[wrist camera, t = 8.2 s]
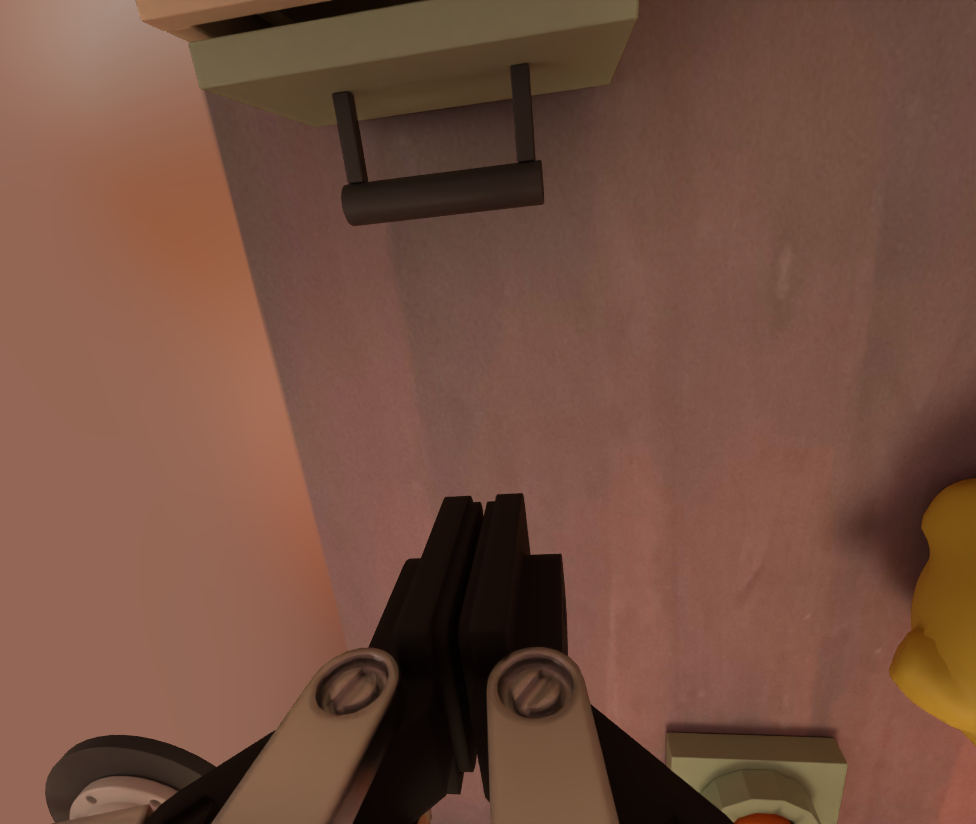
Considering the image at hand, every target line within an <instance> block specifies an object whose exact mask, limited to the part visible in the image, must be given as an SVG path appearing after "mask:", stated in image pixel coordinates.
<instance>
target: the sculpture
mask: <svg viewBox="0 0 976 824" xmlns="http://www.w3.org/2000/svg"><path fill="white" fill-rule="evenodd" d="M921 529H922V530H923V532H924V534H925V536H926V538H927V541H928V544H929V548H930V558H929V560H928V562H927V563H926V565H925V567H924V569H923V570H922V572H921V574H920V577H919V579H918V581H917V584H916V588H915V591H914V595H913V601H912V607H911V628H912V630H911V631H910V632H909V633H908V634H907V635H906V637H905V638H904V640H903V641H902V642H901V643H900V645H899V646H898V648H897V651H896V652H895V654H894V657H893V661H892V664H891V666H890V668H889V673H890V677H891V678H892V680H893V681H894V682H895V683H896V685H897V686H898V687H899V688H900V689H901V690H902V692H903V693H904V694H905V695H906V696H907V697H908V698H909V699H910V700H911V701H912V702H913V703H914V704H916V705H917V706H919V707H920V708H922V709H923V710H925V711H926V712H928V713H929V714H931V715H933V716H934V717H936V718H938V719H939V720H941V721H943V722H944V723H946V724H948V725H950V726H951V727H954V728H957V729H959V730H961V731H962V732H963V733H964V734H965V736H966V737H967V738H968V739H969V740H970V741H971V742H972V743H973V744H974V745H975V746H976V478H974V479H964V480H962V481H959V482H957V483H954V484H952V485H949V486H948V487H946V488H945V489H943V490H942V491H941V492H940V493H939V494H938V495H937V496H936V497H935V498H934V499H933V501H932V502H931V504H930V505H929V507H928V509H927V510H926V512H925V514H924V515H923V519H922V526H921Z"/></svg>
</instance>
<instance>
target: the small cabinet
mask: <svg viewBox="0 0 976 824" xmlns="http://www.w3.org/2000/svg"><path fill="white" fill-rule="evenodd" d="M325 1H330V0H136V4H137V7H138V11H139V14H140V18H141V20H142V21H143V22H145V23H147V24H149V25H152V26H154V27H156V28H158V29H160V30H163V31H166V32H168V33H171V34H173V35H175V36H177V37H179V38H182V39H184V40H186V41H188V42H193V41H199V40H205V39H210V38H216V37H221V36H227V35H233V34H238V33H244V32H249V31H255V30H261V29H266V28H272V27H275V26H274V25H272V24H271V23H269V22H268V21H266V20H264V19H263V18H261V17H260V16H258V15H257V14H259V13H264V12H270V11H275V10H281V9H286V8H292V7H297V6H303V5H308V4H314V3H319V2H325Z"/></svg>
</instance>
